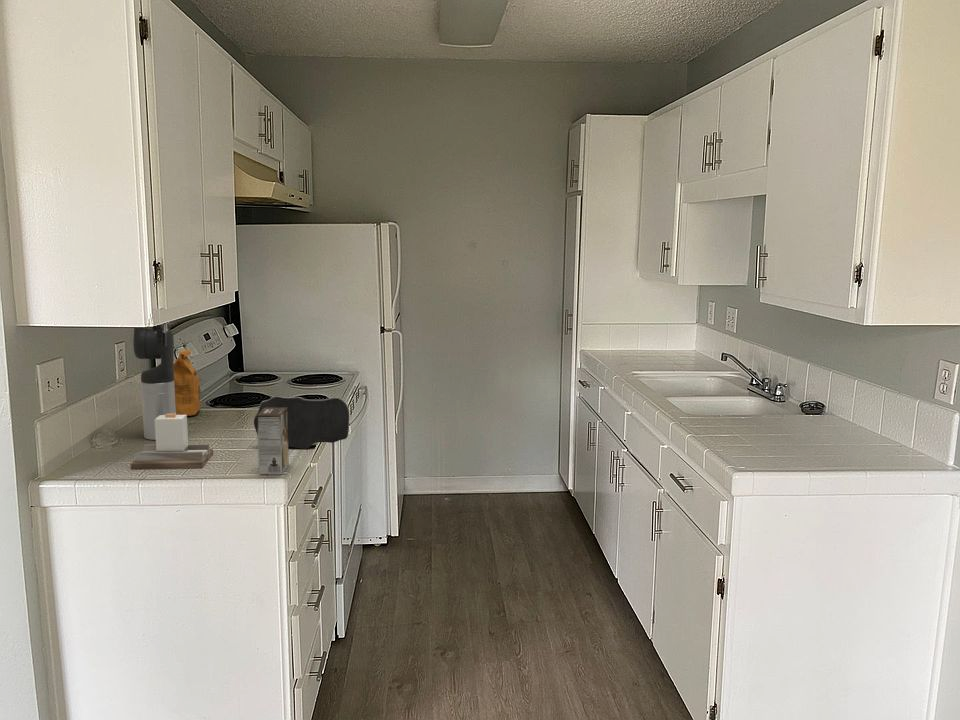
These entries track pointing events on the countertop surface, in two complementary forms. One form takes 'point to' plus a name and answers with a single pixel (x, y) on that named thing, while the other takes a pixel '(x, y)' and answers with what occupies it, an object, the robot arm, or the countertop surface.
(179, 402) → the coffee package
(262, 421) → the coffee box
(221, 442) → the countertop surface
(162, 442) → the block
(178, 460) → the rail board
